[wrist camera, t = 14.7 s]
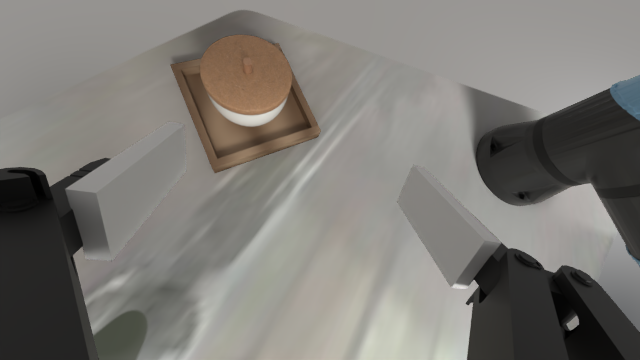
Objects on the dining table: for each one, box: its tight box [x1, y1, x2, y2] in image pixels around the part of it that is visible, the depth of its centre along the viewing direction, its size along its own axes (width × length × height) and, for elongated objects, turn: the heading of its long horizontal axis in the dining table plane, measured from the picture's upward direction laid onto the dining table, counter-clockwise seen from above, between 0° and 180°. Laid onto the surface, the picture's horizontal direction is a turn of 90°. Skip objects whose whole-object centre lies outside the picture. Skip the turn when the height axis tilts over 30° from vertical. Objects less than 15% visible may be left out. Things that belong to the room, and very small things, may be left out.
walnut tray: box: [171, 43, 321, 173], centre depth 37 cm, size 16×16×2 cm
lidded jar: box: [200, 35, 292, 127], centre depth 33 cm, size 11×11×9 cm
